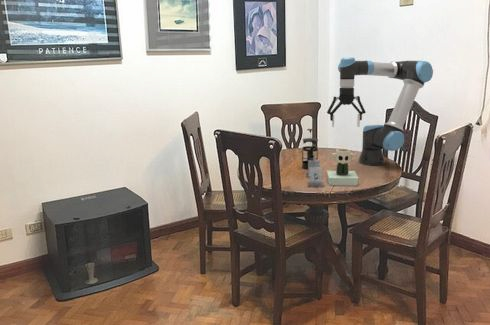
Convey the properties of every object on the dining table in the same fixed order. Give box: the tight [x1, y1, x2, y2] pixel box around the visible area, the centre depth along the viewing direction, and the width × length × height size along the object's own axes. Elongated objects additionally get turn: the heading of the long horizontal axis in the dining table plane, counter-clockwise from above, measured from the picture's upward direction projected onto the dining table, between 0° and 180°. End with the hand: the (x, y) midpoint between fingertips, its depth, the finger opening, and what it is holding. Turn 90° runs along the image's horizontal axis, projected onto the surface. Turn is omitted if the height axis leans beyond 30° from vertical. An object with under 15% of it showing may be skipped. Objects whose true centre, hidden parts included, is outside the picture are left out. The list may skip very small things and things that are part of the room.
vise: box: [305, 159, 325, 188], centre depth 238 cm, size 8×25×9 cm, turn 175°
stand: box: [326, 170, 359, 187], centre depth 236 cm, size 15×15×4 cm
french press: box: [301, 128, 319, 170], centre depth 264 cm, size 12×9×23 cm
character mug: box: [331, 148, 355, 175], centre depth 234 cm, size 11×7×13 cm, turn 86°
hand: (345, 126), depth 246 cm, fingers open, 13 cm apart
